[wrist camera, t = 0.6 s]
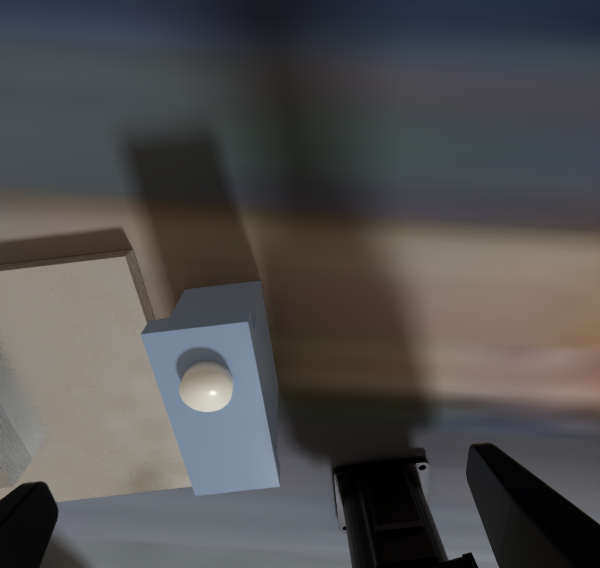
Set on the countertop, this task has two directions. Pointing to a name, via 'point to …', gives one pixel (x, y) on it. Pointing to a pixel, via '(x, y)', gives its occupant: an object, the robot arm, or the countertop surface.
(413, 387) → the countertop surface
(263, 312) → the block
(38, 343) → the chassis plate
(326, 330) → the countertop surface
